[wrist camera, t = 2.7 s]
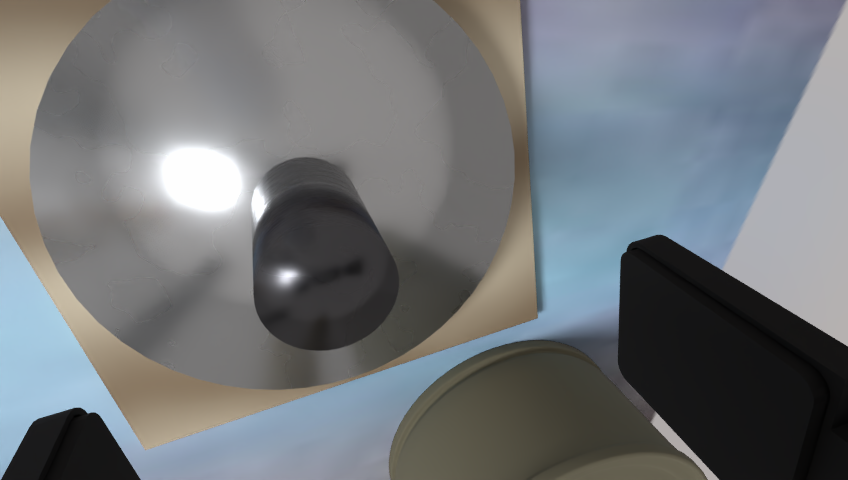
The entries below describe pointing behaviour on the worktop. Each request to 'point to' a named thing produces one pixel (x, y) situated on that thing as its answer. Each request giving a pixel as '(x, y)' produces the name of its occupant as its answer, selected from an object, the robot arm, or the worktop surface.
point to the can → (531, 423)
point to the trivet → (181, 394)
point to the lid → (272, 181)
